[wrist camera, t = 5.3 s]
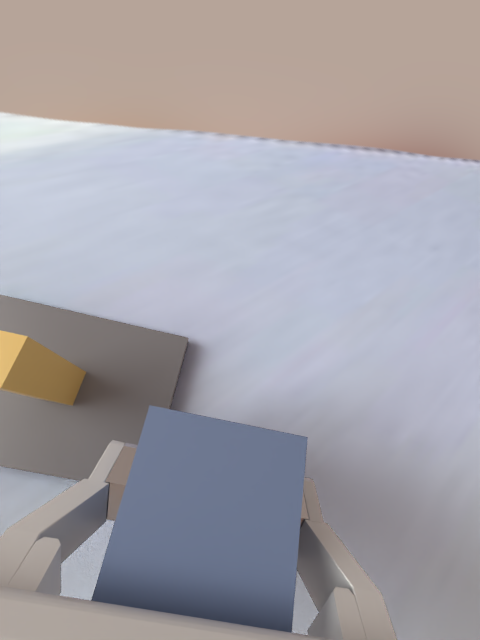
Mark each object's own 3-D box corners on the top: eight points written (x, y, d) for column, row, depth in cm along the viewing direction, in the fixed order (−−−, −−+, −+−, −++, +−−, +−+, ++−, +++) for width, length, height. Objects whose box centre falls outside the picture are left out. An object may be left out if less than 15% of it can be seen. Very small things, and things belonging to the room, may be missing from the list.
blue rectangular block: (251, 435, 16) (307, 437, 8) (237, 529, 15) (289, 653, 6) (173, 419, 16) (149, 405, 8) (148, 514, 14) (84, 622, 6)
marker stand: (188, 342, 22) (187, 290, 14) (147, 489, 18) (116, 532, 10) (-1, 298, 21) (-115, 217, 13) (-89, 446, 17) (-331, 456, 9)
